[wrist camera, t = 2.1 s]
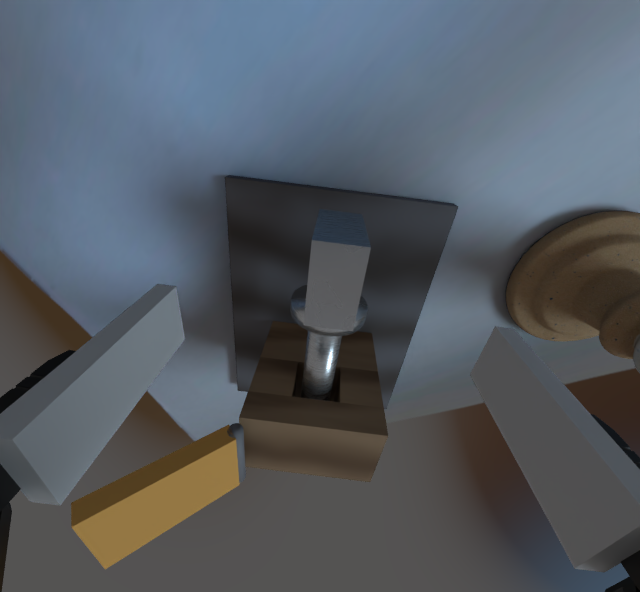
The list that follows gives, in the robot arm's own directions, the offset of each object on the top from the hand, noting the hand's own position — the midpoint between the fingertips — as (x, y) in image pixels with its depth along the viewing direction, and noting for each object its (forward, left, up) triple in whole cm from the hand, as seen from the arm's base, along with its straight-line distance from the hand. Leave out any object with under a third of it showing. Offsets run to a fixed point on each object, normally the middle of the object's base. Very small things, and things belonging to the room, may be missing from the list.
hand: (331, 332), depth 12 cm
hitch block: (+9, 0, -14) cm, 17 cm away
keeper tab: (+13, -8, +1) cm, 15 cm away
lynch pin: (+6, 0, -9) cm, 11 cm away
